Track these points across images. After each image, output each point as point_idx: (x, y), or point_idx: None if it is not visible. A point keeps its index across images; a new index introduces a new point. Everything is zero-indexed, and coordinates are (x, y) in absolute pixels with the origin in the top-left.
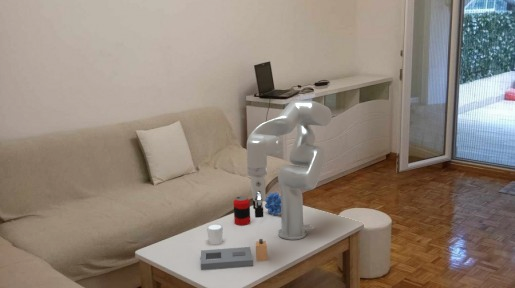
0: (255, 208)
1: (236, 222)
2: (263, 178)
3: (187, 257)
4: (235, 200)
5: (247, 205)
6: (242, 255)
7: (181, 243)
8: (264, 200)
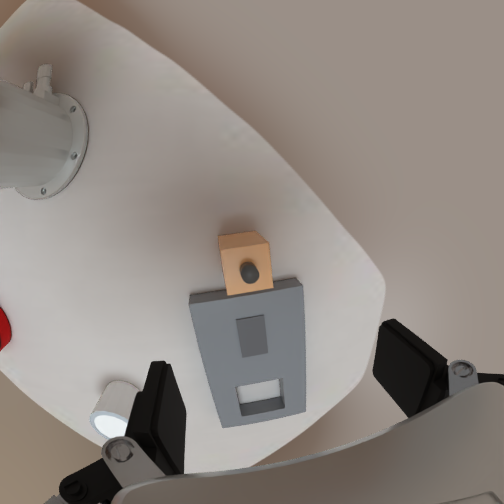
0: (422, 410)
1: (7, 342)
2: None
3: (228, 436)
4: None
5: None
6: (264, 323)
7: None
8: (493, 389)
